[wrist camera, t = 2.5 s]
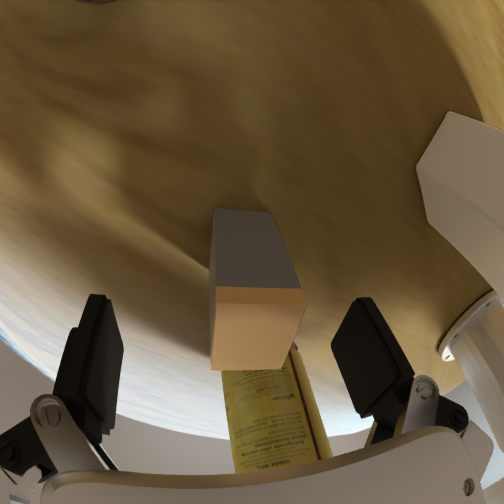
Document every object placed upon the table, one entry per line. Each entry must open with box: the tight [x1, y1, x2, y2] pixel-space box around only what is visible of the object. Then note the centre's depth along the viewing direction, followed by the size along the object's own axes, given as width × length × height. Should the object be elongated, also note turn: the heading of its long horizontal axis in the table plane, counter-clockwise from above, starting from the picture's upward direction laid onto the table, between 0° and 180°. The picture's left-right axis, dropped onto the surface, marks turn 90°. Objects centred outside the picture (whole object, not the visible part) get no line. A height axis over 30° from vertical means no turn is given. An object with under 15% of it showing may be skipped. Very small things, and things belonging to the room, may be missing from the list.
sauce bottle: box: [222, 342, 333, 473], centre depth 13 cm, size 6×6×20 cm
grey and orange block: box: [209, 208, 308, 370], centre depth 13 cm, size 3×4×7 cm
